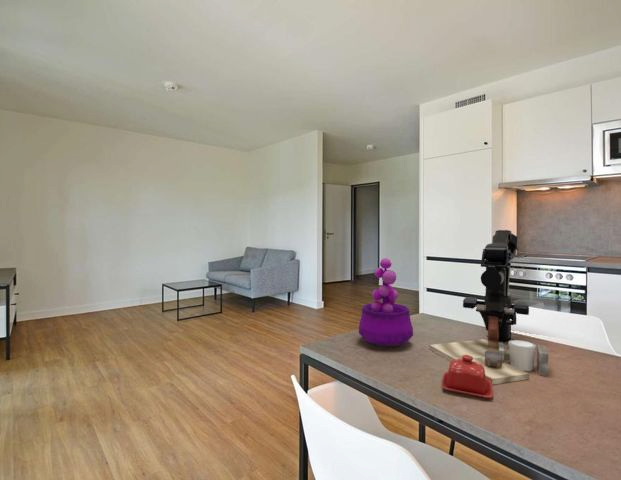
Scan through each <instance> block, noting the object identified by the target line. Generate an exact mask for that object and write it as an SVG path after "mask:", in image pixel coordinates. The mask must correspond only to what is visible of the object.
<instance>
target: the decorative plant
mask: <svg viewBox="0 0 621 480" xmlns="http://www.w3.org/2000/svg"><path fill="white" fill-rule="evenodd" d="M379 266H380V268H379V267H378V268H376V269H375V270H374V271H373V273H374V276H375V277H376V278H377V279H381V280H382V285H380V286H379V288H376V289H373V291H372V293H371V296H372V298H373V300H374V301H373V302H372V303H367V304H364V305H363V306H362V309H361V317H360V320H359V324H358V335H360V336H361V337H362V339H364V341H366V342H368V343H370V344H372V345H373V344H374V345H377V346H381V347H382V346H384V347H395V346H400V345H403V344H407V343H408V342H409V341H410V340H411V338H412V337H413V336H414V329H413V328H414V327H413V325H412V321H411V314H410V308H409V307H407V306H405V305H402V304H398V303H395V302H396V301H397V299H398V297H399V293H398V291H397V290H396V289H394V287H393V286H392V285H393V284H394V283H395V282H396V280H397V274H396V272H394V271H393V270H390V268H391V267H392V262H391V260H390V259H389V258H387V257H384V258H382V259H381V260H380V262H379ZM381 300H382V302H381Z"/></svg>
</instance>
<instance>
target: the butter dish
mask: <svg viewBox="0 0 621 480" xmlns="http://www.w3.org/2000/svg"><path fill="white" fill-rule="evenodd" d="M472 360H473V357H472V356H470V355H463V356H462V359H455V360H452V361H450V362H449V363H450V364H449V367H448V371H445V372H444V373H443V376H442V381H441V387H442V389H444V390H446V391H451V392H454V393H459V394H464V395H469V396H475V397H479V398H486V399H492V398H493V396H494V394H493V393H494V391H493V385H492V384H491V381H490V380H489V379H486V376H485V369H484V367H483V366H482V365H481V364H479V363H477V362H474V361H472Z"/></svg>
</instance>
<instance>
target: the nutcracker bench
mask: <svg viewBox="0 0 621 480" xmlns="http://www.w3.org/2000/svg"><path fill="white" fill-rule="evenodd" d="M536 346H537V347H536V367H537V372H538V376H544V377H548V376H549V352H548V350H547V346H546V345H542V344H541V345H540V344H536ZM428 349H429V350H430V351H432V352H433V353H436V354H437V355H438V356H440V357H442V358H444V359H446V360H447V361H449V362H451V361H452V360H455V359H462V356H463V355H470V356H472V357H473V360H472V361H474V362H477V363H479V364H481V365H482V366H483V367H484V369H485V376H486V379H489V380H490V381H491V384H492V386H493V385H499V384H506V383H513V382H518V381H519V382H520V381H525V380H530V373H529V372H528V371H522V370H520V369H518V368H516V367H514V366H512V365H510V363H507V362H505V361H502V366H501V367H492V366H488V365H487V364H485V351H488V339H486V338H485V339H484V338H481V339H473V340H471V339H470V340H465V341H464V340H463V341H453V342H443V343H435V344H429V348H428ZM504 360H510V355H509V348H507V347H505V346H504Z"/></svg>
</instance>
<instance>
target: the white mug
mask: <svg viewBox="0 0 621 480" xmlns="http://www.w3.org/2000/svg"><path fill="white" fill-rule="evenodd" d="M536 346H537V344H535V343H533V342H530V341H527V340H521V339H515V340H510V341H508V349H509V355H510V359H509V365H512V366H514V367H516V368H518V369H520V370H522V371H524V372H531V371H533V370H534V362H535V354H536V349H537V347H536Z"/></svg>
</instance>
